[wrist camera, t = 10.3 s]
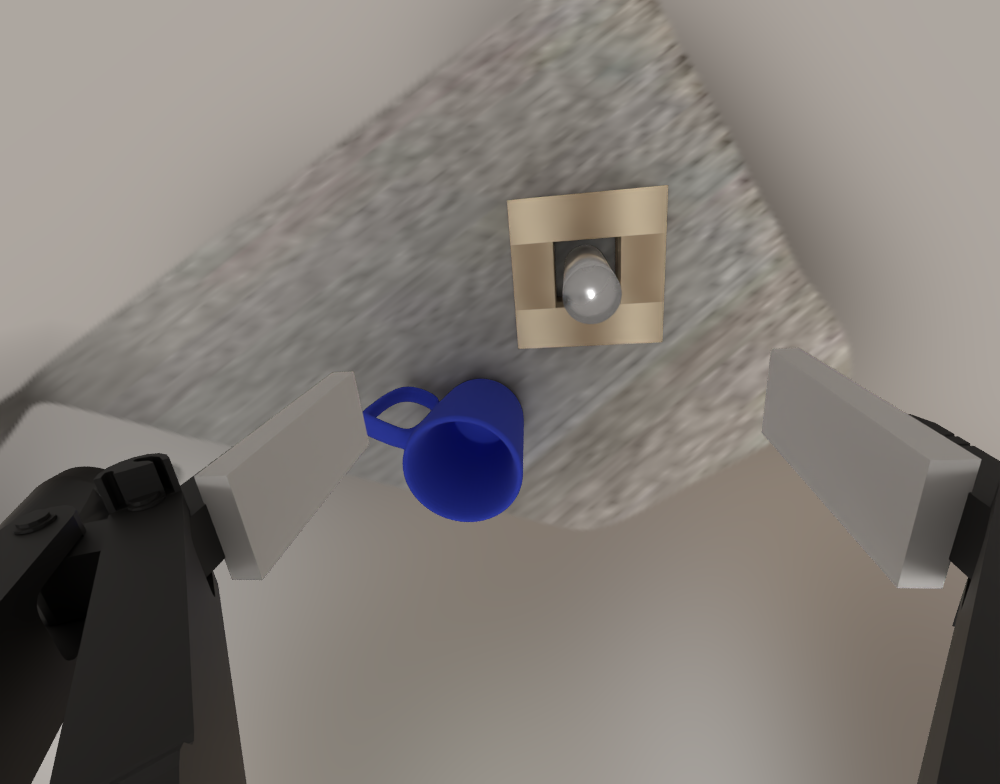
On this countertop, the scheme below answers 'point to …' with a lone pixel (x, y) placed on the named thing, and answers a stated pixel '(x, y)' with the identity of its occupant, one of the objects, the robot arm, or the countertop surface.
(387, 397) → the mug
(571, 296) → the peg
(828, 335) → the countertop surface
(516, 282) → the hole block
